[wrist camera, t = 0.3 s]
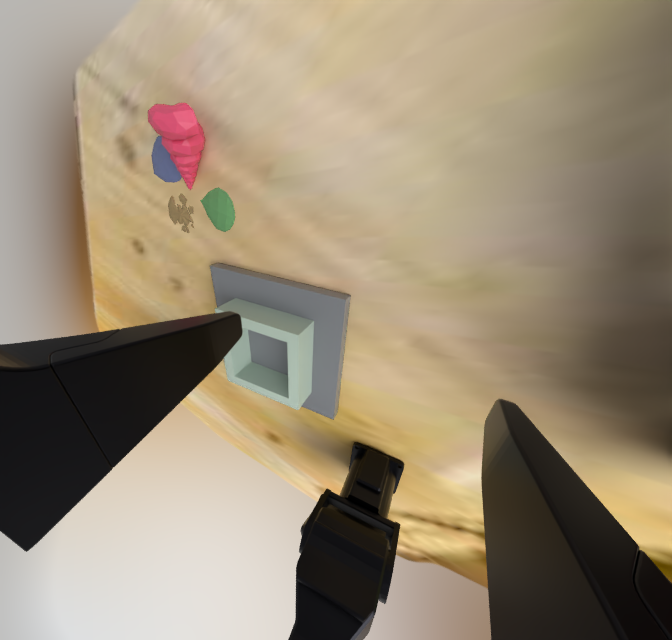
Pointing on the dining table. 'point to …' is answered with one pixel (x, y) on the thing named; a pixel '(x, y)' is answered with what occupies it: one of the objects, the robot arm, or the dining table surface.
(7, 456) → the robot arm
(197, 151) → the toy pieces
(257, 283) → the docking board
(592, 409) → the dining table surface
